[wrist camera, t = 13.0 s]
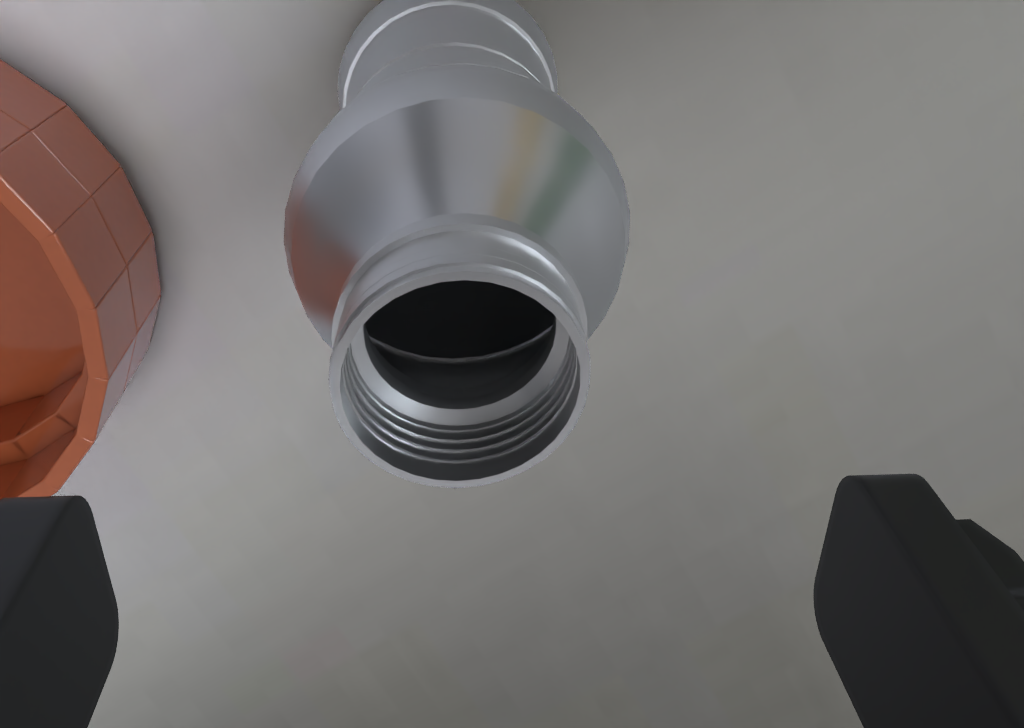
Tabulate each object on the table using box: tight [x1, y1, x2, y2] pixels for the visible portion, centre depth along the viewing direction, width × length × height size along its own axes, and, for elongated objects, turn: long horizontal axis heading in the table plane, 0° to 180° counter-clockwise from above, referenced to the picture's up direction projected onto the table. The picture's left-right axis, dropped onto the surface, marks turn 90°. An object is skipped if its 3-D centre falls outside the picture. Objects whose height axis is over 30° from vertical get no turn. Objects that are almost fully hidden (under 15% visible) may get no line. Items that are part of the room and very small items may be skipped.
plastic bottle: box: [284, 0, 630, 488], centre depth 22 cm, size 6×7×20 cm
